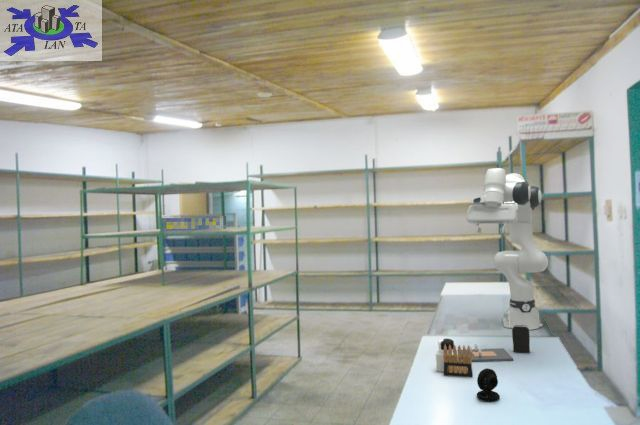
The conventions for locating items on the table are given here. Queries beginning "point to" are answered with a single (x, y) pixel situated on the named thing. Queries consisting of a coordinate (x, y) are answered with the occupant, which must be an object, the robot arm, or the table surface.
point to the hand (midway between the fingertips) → (490, 232)
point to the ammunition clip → (457, 362)
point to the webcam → (487, 385)
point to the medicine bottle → (441, 353)
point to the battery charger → (521, 339)
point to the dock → (488, 355)
